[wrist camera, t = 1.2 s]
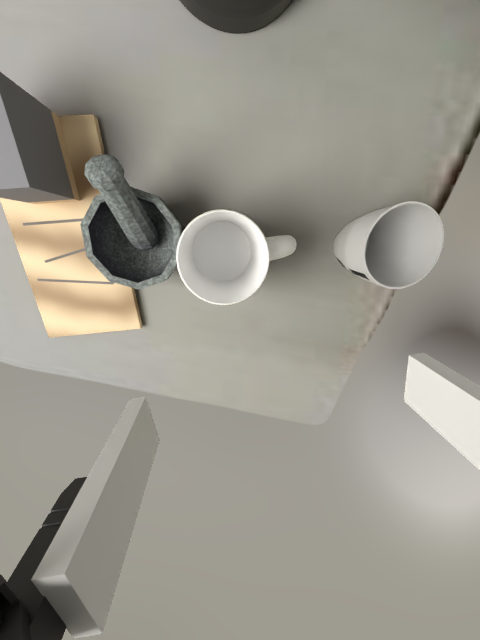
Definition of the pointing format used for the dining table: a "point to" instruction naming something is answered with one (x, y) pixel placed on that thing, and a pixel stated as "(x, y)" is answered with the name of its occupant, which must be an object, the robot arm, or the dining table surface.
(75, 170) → the board
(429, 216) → the cup
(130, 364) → the dining table surface
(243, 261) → the mug
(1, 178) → the block
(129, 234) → the mortar and pestle
